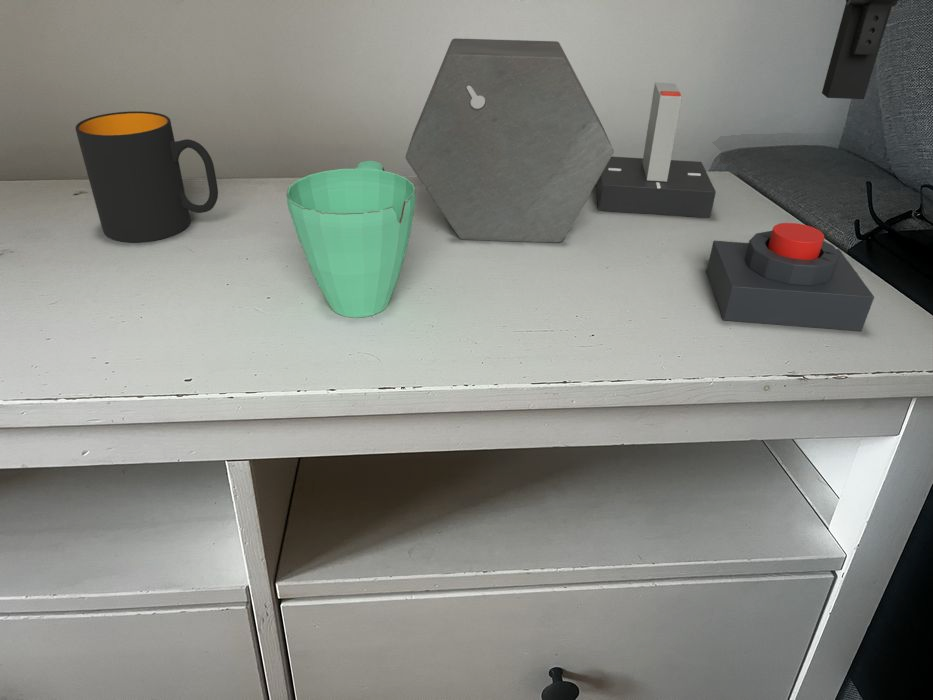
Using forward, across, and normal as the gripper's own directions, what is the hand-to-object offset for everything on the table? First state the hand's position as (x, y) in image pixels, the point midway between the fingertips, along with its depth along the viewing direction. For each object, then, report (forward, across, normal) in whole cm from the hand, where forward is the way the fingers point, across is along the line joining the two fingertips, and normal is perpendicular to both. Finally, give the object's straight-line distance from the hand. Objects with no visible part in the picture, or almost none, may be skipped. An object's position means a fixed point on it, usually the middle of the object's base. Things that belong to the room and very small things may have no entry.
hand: (842, 95), depth 56 cm
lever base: (+17, -20, -10) cm, 28 cm away
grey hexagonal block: (+17, -9, -26) cm, 33 cm away
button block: (+17, +3, -2) cm, 17 cm away
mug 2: (+16, +6, -38) cm, 41 cm away
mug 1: (+16, -4, -60) cm, 63 cm away
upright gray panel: (+14, -20, -10) cm, 26 cm away
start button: (+12, +3, -2) cm, 12 cm away
